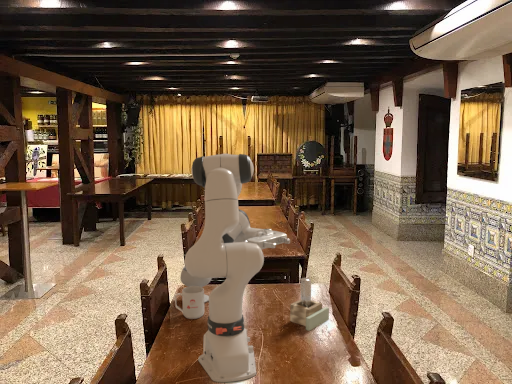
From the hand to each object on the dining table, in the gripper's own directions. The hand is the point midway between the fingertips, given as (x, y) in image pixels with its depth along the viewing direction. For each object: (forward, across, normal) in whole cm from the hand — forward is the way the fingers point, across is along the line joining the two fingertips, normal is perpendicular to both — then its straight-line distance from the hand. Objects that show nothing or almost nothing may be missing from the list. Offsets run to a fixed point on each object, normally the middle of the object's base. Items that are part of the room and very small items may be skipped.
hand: (282, 243), depth 180 cm
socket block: (+12, 0, +30) cm, 32 cm away
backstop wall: (+17, 0, +30) cm, 35 cm away
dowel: (+12, 0, +26) cm, 29 cm away
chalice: (-39, -13, +30) cm, 51 cm away
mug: (-28, -26, +30) cm, 49 cm away
